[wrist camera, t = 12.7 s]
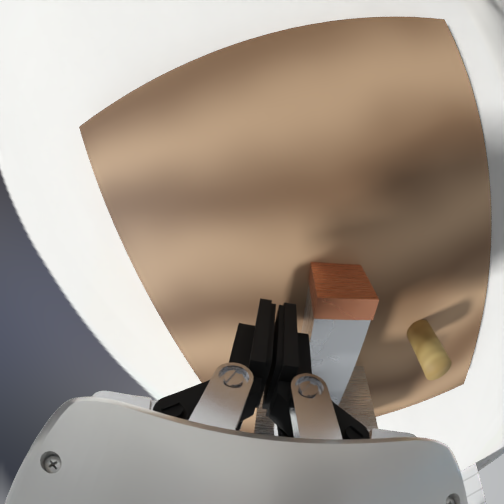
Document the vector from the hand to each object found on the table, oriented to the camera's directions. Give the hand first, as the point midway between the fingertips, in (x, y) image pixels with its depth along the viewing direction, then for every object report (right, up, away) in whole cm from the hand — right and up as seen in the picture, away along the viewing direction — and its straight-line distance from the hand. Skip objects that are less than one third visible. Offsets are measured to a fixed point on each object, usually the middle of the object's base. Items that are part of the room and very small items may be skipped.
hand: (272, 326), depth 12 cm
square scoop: (+3, -3, +3) cm, 5 cm away
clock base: (+4, +2, +2) cm, 4 cm away
